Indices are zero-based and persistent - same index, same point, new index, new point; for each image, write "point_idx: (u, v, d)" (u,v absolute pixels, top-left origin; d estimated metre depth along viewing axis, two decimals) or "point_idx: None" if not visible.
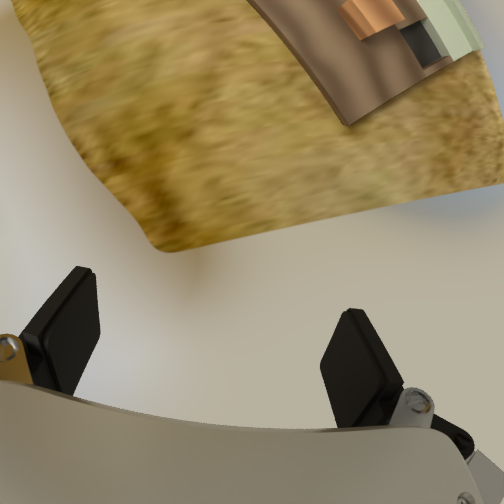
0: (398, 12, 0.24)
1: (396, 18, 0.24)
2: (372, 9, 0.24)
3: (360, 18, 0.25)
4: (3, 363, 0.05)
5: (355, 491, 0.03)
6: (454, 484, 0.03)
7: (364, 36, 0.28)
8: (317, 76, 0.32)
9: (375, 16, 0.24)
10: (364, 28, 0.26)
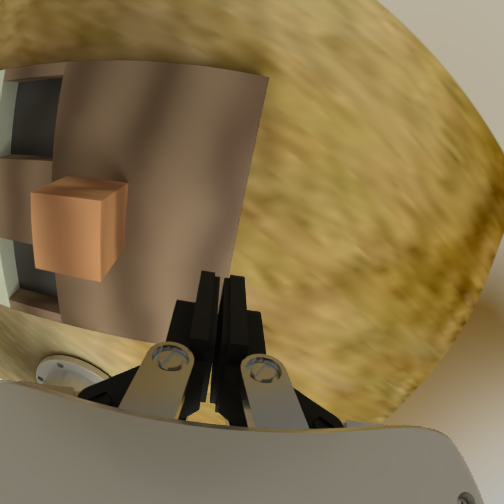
0: (34, 210, 0.15)
1: (44, 201, 0.15)
2: (76, 241, 0.16)
3: (107, 233, 0.17)
4: (161, 370, 0.07)
5: (355, 491, 0.03)
6: (454, 484, 0.03)
7: (119, 191, 0.18)
8: (245, 181, 0.20)
9: (80, 228, 0.15)
10: (111, 210, 0.17)
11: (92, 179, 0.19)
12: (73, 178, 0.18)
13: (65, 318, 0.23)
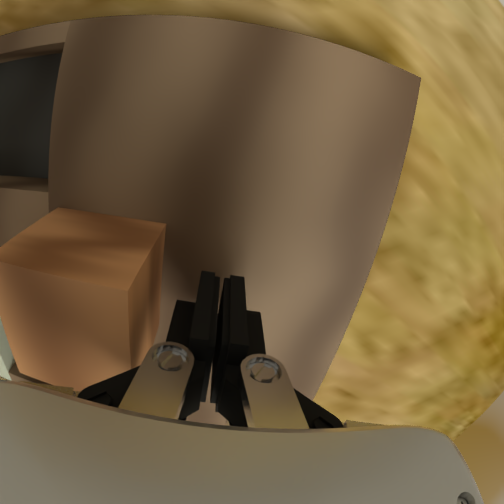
0: None
1: (12, 278, 0.07)
2: (82, 351, 0.08)
3: (139, 331, 0.09)
4: (161, 370, 0.07)
5: (355, 491, 0.03)
6: (454, 484, 0.03)
7: (154, 247, 0.10)
8: (379, 235, 0.13)
9: (88, 332, 0.08)
10: (144, 288, 0.09)
11: (100, 216, 0.11)
12: (67, 213, 0.11)
13: None
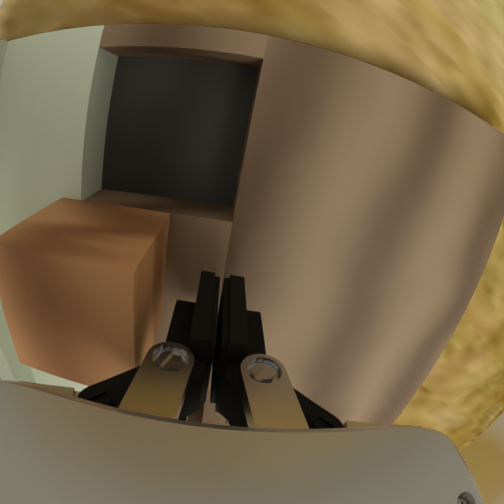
0: (1, 275, 0.07)
1: (16, 262, 0.07)
2: (84, 338, 0.08)
3: (143, 318, 0.09)
4: (161, 370, 0.07)
5: (355, 491, 0.03)
6: (454, 484, 0.03)
7: (159, 234, 0.10)
8: (485, 262, 0.14)
9: (91, 318, 0.08)
10: (148, 274, 0.09)
11: (105, 205, 0.11)
12: (71, 203, 0.11)
13: None
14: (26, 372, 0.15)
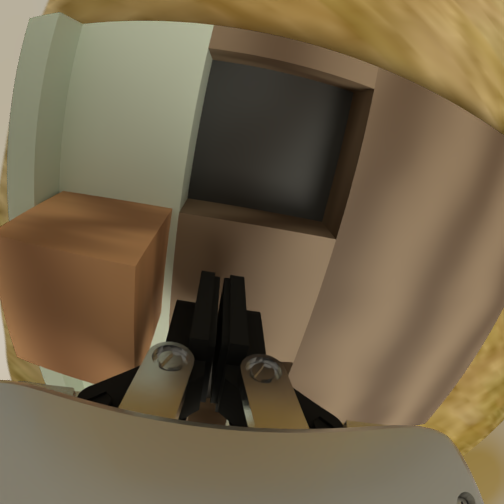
0: (0, 267, 0.07)
1: (16, 254, 0.07)
2: (84, 332, 0.08)
3: (143, 313, 0.09)
4: (161, 370, 0.07)
5: (355, 491, 0.03)
6: (454, 484, 0.03)
7: (161, 229, 0.10)
8: None
9: (91, 311, 0.08)
10: (149, 269, 0.09)
11: (106, 199, 0.11)
12: (72, 196, 0.11)
13: None
14: (79, 388, 0.15)
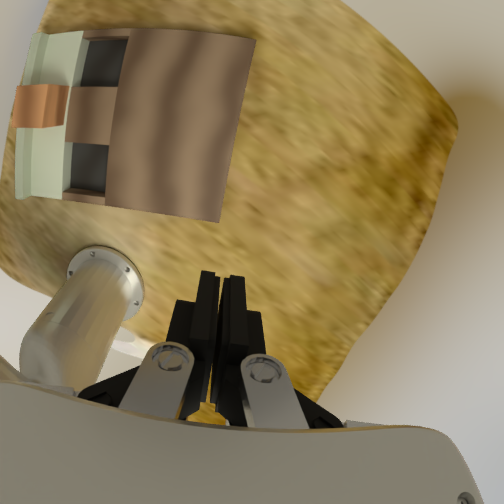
0: (17, 94, 0.23)
1: (23, 89, 0.23)
2: (33, 107, 0.24)
3: (50, 104, 0.25)
4: (161, 370, 0.07)
5: (355, 491, 0.03)
6: (454, 484, 0.03)
7: (62, 87, 0.26)
8: (242, 98, 0.30)
9: (37, 99, 0.24)
10: (55, 93, 0.25)
11: None
12: None
13: (108, 200, 0.34)
14: (28, 175, 0.31)
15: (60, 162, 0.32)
